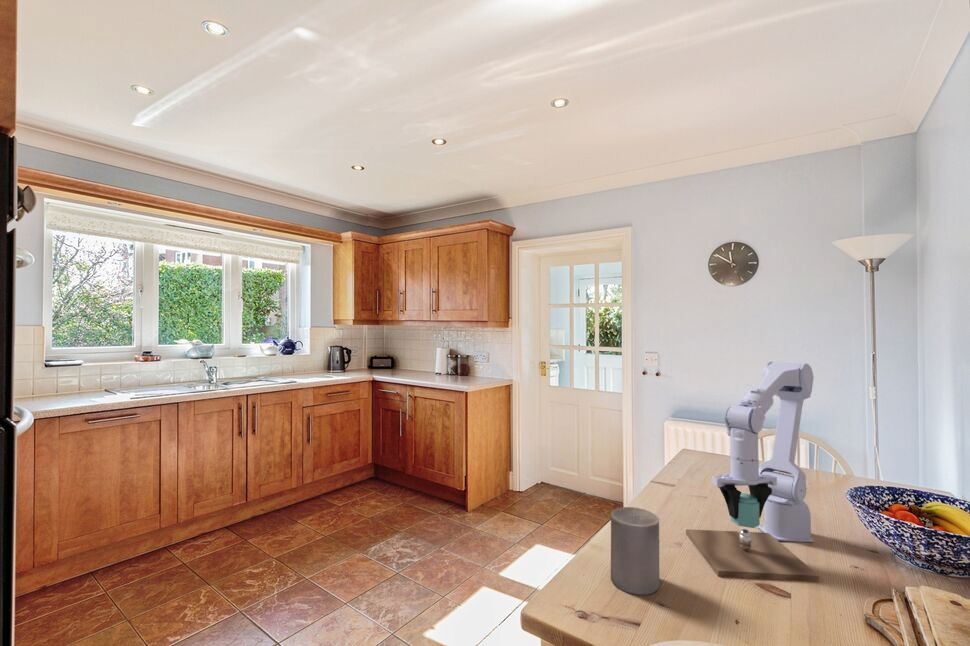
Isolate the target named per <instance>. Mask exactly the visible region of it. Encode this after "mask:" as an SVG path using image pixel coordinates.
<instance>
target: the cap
mask: <svg viewBox="0 0 970 646" xmlns="http://www.w3.org/2000/svg"><path fill="white" fill-rule="evenodd" d="M760 519H761V518H759V502H758V501H757V497H755V496H753V495H750V493H745V492H741V495H740V498H739V504H738V518H737V519H734V518H733V517H731V516H730V522H732V523H734V524H736V525H737V526H739V527H743V528H744V527H745V528H750V529H755V528H758V527H757V526H759V525H761V524H760V521H761V520H760Z"/></svg>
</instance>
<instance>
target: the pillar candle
mask: <svg viewBox="0 0 970 646" xmlns="http://www.w3.org/2000/svg"><path fill="white" fill-rule="evenodd" d="M660 542H661V541H660V517H659V516H657V514H655V513H654V512H652V511H650V510H647V509H644V508H641V507H640V508H639V507H632V506H629V507H628V506H625V507H618V508H615V509H613V510H612V511H611V512H610V580H611V582H612V584H613V585H614V586H615V587H616V588H617V589H620V590H621V591H623V592H626V593H629V594H632V595H637V596H639V595H641V596H645V595H652V594H654V593H655V592H656V591H658V589H659V588H660Z"/></svg>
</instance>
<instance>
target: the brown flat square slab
mask: <svg viewBox="0 0 970 646" xmlns="http://www.w3.org/2000/svg"><path fill="white" fill-rule="evenodd" d="M739 532H740V531H739V530H738V531H737V530H736V531H735V530H730V531H729V530H712V529H711V530H708V529H685V535H686V537H687V538H688V539H689V540H690V542H691V543H692V544H693V546H694V547H695V548H696V549H697V550H698V552H699V553H700V555H701V556H702V557H703V558H704V560H705V562H707V564H708V565H709V566H710V568H711V569H712V570H713V571H714V573H715V574H716V576H717V577H725V578H741V579H742V578H745V579H746V578H747V579H763V580H782V581H784V580H785V581H799V582H800V581H803V582H804V581H805V582H820V575H819V574H818V573H816V572H815V571H814V570H813V569H812V568H811V567H809V565H807V564H806V563H805V562H803V560H801V559H800V558H799V557H798V556H797V555H795V554H794V553H793V552H792V551H791V550H789V549H788V548H787V547H786V546H785V545H784V544H783V543H781V541H778V540H776V539H775V538H774V537H773V536H772V535H771V534H769V533H764V532H763V531H761V532H759V531H749V532H750V533H751V548H750V549H749V550H744V549H742V548H741V546H740V544H739Z"/></svg>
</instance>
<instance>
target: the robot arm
mask: <svg viewBox="0 0 970 646" xmlns="http://www.w3.org/2000/svg"><path fill="white" fill-rule="evenodd" d="M762 377H763V379H762V380H761V382H760V384H759V385H758V387H754V388H753V387H752V388H750V390H748V392H746V394H745V395H744V396H743V397H742V399H741V400H740V401H739V402H738V404H733V405H731V406H729V407H727V408H726V410H725V415H724V424H725V426H726V431H727V436H729V449H730V450H729V451H730V453H729V454H730V455H729V456H730V458H729V460H730V463H729V464H730V466H729V468H730V473H726V474H720V475H712V476H711V477H712V485H713V486H714V487H716V488H719V491H720V492H721V494H722V496H723V498H724V500H725V503H726V508H727V510H728V513H729V514H728V515H729V516H730V518H731V517H733V518H734V519H737V518H738V504H739V498H740V495H741V493H742V492H741V491H740V490H739V489H738V488H737V487H736V486H747V487H748V489H749V494H750V495H753V496H755V497H757V501H758V502H759V519H761V517H762V513H764V514H763V516H764V517H763V518H764V519H763V521H764V522H763V524H760V525H759V526H757V527H756V528H758V529H759V530H760V531H761V532H762V533H769V534H771V535H772V536H773V537H774V538H775V539H776V540H778V541H779V542H781V541H782V542H800V543H801V542H803V543H805V542H807V543H813V541H814V540H813V539H812V524H811V523H812V522H811V521H812V519H811V517H812V516H811V511H810V508H809V506H808V503H806V502H805V501H804V500H805V499H806V495H807V476H806V474H805V472H804V471H803V470H802V469H801V467H800V466H798V465H797V464H796V463H795V460H796V453H797V446H798V438H799V434H800V433H799V432H800V425H801V420H802V419H801V418H802V412H803V406H804V401H805V400H807V399H809V398H811V395H812V392H813V385H814V372H813V369H812V367H811V365H810V364H808V363H806V362H805V363H794V362H793V363H792V362H791V363H789V362H773V361H768V362H766V363H765V365H764V366H763V371H762ZM774 396H776V397H778V398H779V399H780V403H779V409H778V415H777V421H776V426H775V427H776V430H775V434H774V442H773V447H772V454H771V455H772V456H771V457H770V458H769V459H767V460H765V461H762V462H761V463H760V464H759V462H760V461H759V458H760V457H759V433H760V432H761V431H762V430H763V426H764V422H765V420H766V414H767V413H768V411H769V410H770V409H771V407H773V405H774V398H773V397H774ZM763 511H764V512H763Z"/></svg>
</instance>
